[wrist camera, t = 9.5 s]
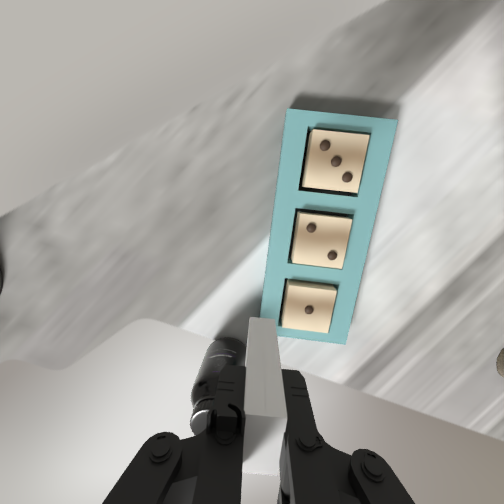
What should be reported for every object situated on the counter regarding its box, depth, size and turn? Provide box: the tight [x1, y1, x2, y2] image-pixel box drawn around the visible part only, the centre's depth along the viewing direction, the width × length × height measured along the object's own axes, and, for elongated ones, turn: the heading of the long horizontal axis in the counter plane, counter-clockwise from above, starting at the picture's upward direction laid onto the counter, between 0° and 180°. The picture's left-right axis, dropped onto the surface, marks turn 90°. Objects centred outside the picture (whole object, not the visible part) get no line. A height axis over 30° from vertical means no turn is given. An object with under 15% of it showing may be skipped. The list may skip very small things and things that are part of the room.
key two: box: [291, 211, 352, 269], centre depth 31 cm, size 6×6×3 cm
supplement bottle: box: [190, 338, 247, 435], centre depth 33 cm, size 7×7×12 cm
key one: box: [281, 278, 337, 333], centre depth 34 cm, size 6×6×3 cm
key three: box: [301, 129, 370, 193], centre depth 29 cm, size 6×6×3 cm
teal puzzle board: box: [259, 108, 398, 345], centre depth 32 cm, size 28×12×2 cm, turn 174°
